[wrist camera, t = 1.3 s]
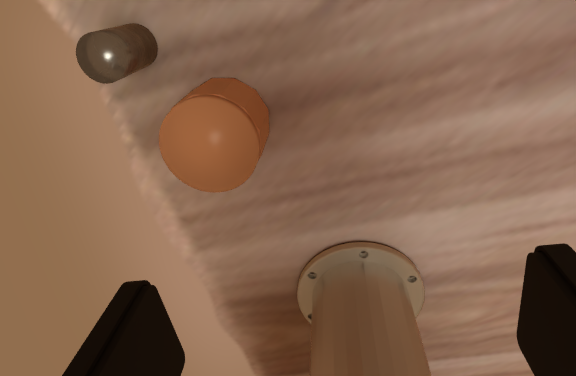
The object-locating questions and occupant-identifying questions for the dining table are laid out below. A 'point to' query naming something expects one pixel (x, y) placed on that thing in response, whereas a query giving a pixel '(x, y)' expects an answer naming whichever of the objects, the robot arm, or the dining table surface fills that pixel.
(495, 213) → the dining table surface
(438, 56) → the dining table surface
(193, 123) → the orange short cylinder
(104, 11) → the dining table surface
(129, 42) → the steel stud
